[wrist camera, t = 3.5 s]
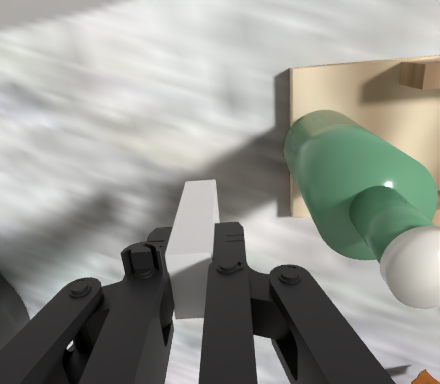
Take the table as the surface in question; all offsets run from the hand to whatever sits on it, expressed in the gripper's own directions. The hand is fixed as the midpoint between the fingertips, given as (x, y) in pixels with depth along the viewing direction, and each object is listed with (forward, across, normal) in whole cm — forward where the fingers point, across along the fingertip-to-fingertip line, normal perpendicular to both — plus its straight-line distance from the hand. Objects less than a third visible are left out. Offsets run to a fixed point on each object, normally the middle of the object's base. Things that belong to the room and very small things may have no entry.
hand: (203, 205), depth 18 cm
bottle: (+8, +8, 0) cm, 11 cm away
